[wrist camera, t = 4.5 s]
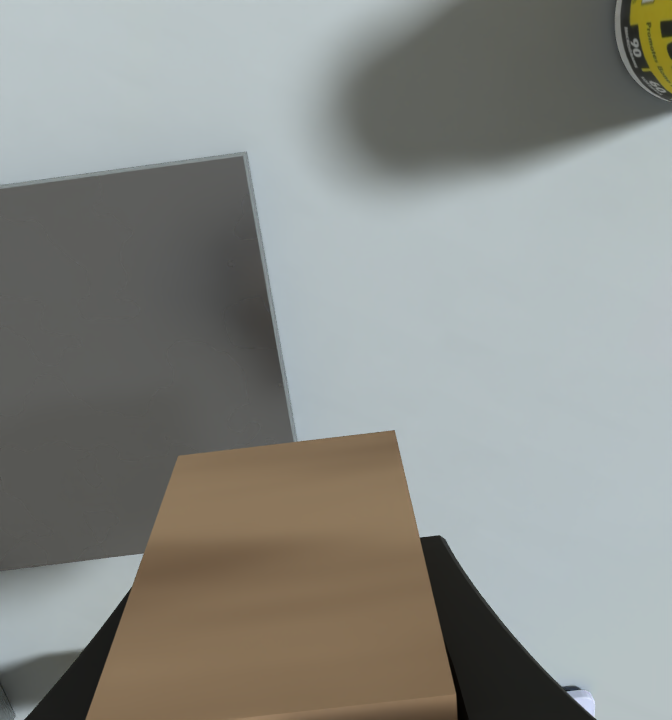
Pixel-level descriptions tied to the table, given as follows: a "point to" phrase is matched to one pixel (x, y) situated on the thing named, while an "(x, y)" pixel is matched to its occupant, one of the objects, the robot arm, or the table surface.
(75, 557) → the press base
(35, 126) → the table surface
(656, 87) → the supplement bottle
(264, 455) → the brown rectangular block
